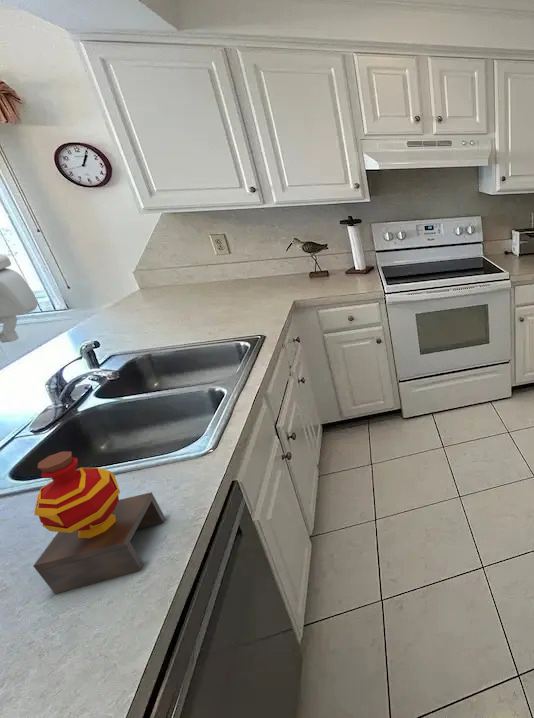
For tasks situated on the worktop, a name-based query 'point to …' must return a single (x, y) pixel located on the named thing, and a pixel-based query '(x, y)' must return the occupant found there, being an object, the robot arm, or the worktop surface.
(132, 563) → the shelf
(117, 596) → the worktop surface
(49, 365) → the worktop surface
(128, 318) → the worktop surface
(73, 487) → the potion bottle
